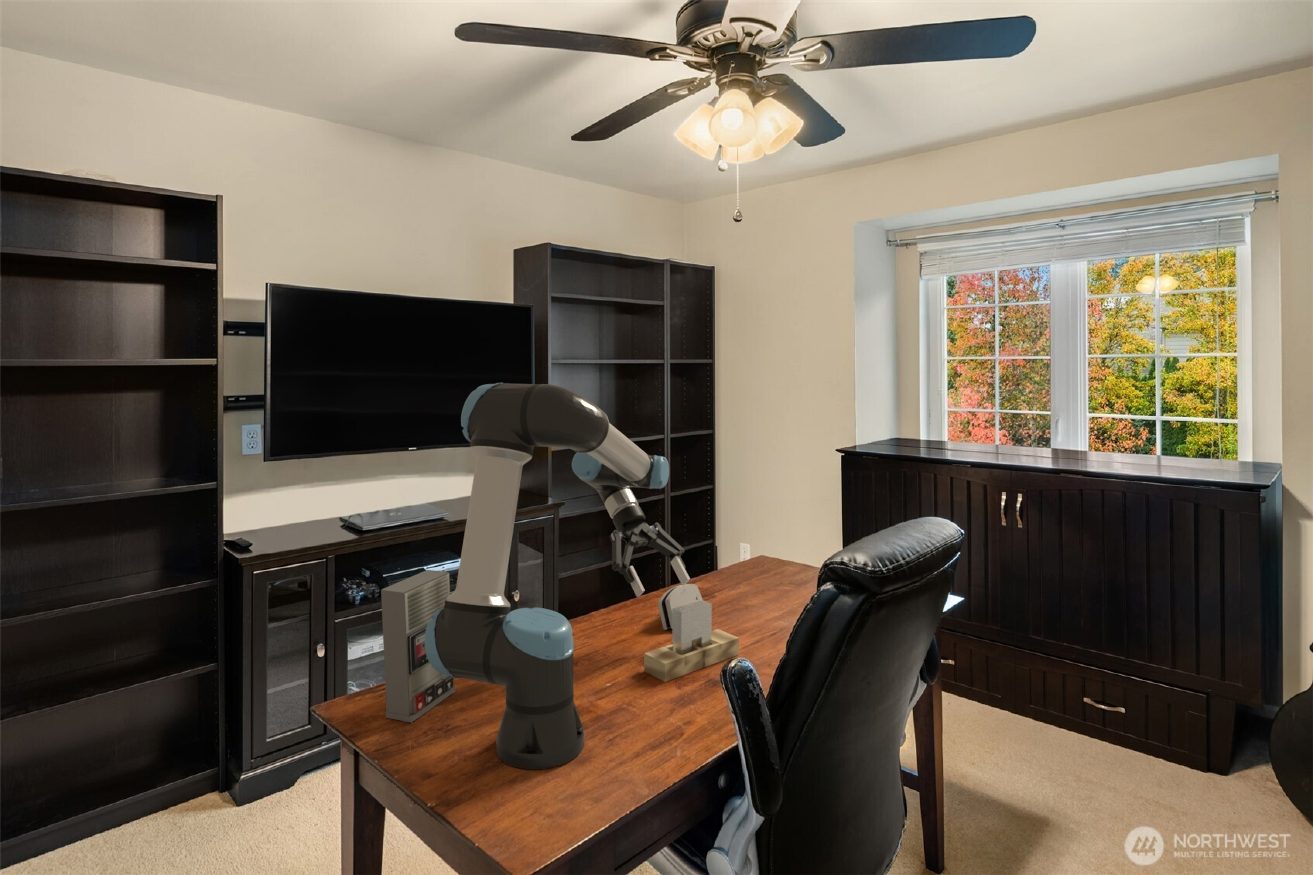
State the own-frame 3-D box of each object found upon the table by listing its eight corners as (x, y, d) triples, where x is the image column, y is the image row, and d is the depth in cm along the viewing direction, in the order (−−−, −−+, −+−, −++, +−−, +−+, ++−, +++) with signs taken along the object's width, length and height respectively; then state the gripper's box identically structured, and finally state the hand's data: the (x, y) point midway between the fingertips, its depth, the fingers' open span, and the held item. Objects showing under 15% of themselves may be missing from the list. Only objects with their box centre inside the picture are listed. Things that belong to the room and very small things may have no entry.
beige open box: (665, 681, 152) (665, 663, 152) (644, 670, 158) (644, 653, 157) (738, 654, 166) (738, 637, 166) (717, 645, 172) (717, 628, 171)
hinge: (680, 633, 179) (668, 593, 180) (664, 635, 182) (653, 597, 183) (711, 612, 194) (700, 576, 194) (696, 615, 196) (685, 579, 197)
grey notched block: (681, 670, 158) (681, 612, 157) (672, 665, 160) (672, 608, 159) (711, 659, 164) (711, 603, 162) (702, 655, 166) (702, 599, 165)
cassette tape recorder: (412, 724, 135) (407, 593, 132) (385, 718, 137) (379, 589, 134) (457, 692, 148) (453, 572, 145) (432, 687, 150) (427, 569, 147)
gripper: (658, 514, 188) (696, 585, 178) (576, 528, 172) (613, 607, 162) (671, 497, 183) (711, 569, 173) (589, 510, 167) (627, 590, 158)
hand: (664, 588), depth 168 cm, fingers open, 13 cm apart
